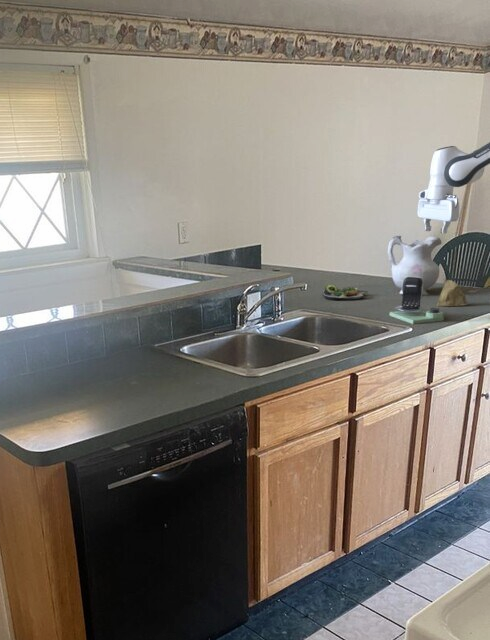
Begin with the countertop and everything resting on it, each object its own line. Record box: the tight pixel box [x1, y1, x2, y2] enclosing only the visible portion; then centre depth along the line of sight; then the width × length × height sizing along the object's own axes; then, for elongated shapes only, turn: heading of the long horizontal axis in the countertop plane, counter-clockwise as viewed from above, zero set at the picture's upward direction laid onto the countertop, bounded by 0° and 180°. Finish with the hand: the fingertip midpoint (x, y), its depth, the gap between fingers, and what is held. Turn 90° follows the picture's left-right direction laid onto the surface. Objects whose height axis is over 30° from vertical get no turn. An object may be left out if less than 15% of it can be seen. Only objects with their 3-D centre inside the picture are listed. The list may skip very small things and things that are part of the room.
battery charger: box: [401, 276, 423, 308], centre depth 244 cm, size 7×4×11 cm, turn 54°
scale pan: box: [395, 304, 425, 312], centre depth 247 cm, size 10×10×1 cm
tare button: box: [429, 307, 440, 313], centre depth 241 cm, size 3×3×2 cm
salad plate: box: [321, 283, 369, 301], centre depth 286 cm, size 19×18×5 cm
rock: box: [436, 279, 468, 307], centre depth 261 cm, size 11×9×10 cm
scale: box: [389, 309, 445, 325], centre depth 246 cm, size 15×14×3 cm
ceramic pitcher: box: [387, 235, 442, 296], centre depth 283 cm, size 22×20×25 cm
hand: (435, 232), depth 250 cm, fingers open, 8 cm apart
